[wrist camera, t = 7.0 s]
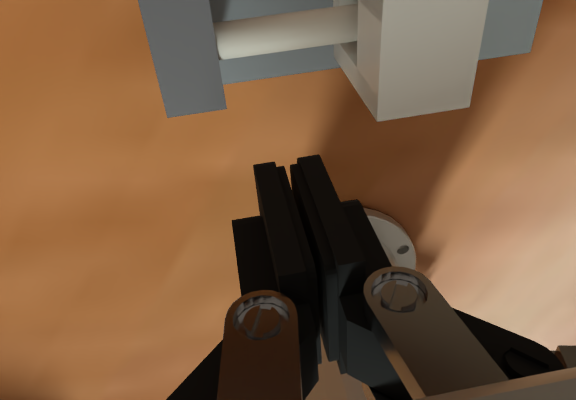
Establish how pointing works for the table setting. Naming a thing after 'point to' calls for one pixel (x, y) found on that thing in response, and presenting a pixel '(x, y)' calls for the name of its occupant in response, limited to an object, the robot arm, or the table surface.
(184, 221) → the table surface
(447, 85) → the grooved white cube
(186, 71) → the rail
